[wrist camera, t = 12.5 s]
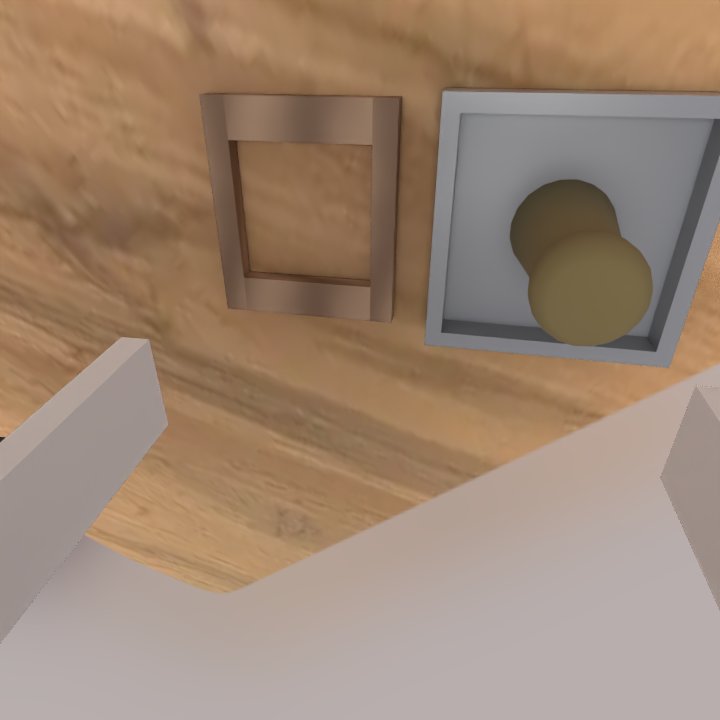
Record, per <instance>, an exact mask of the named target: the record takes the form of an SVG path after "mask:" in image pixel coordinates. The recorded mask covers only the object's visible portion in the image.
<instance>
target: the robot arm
mask: <svg viewBox="0 0 720 720" xmlns="http://www.w3.org/2000/svg"><path fill="white" fill-rule="evenodd" d="M167 426H168V421H167V417H166V412H165V408H164V403H163V399H162V395H161V390H160V386H159V382H158V377H157V373H156V369H155V364H154V360H153V355H152V351H151V347H150V342H149V339H138V338H126V337H121V338H120V339H119V340H117V341H116V342H115V343H114V344H113V345H112V346H111V347H109V348H108V349H107V350H106V351H105V352H104V353H103V354H101V355H100V356H99V357H98V358H97V359H96V360H94V361H93V362H92V363H91V364H90V365H89V366H88V367H86V368H85V369H84V370H83V371H82V372H81V373H79V374H78V375H77V376H76V377H75V378H74V379H73V380H71V381H70V382H69V383H68V384H67V385H66V386H65V387H63V388H62V389H61V390H60V391H59V392H58V393H56V394H55V395H54V396H53V397H52V398H51V399H50V400H48V401H47V402H46V403H45V404H44V405H43V406H42V407H40V408H39V409H38V410H37V411H36V412H35V413H33V414H32V415H31V416H30V417H29V418H28V419H27V420H25V421H24V422H23V423H22V424H21V425H20V426H19V427H17V428H16V429H15V430H14V431H13V432H12V433H10V434H9V435H8V436H7V437H6V438H5V437H0V643H1V642H2V641H3V640H4V638H5V637H6V636H7V634H8V633H9V632H10V630H11V629H12V628H13V626H14V625H15V624H16V623H17V621H18V620H19V619H20V617H21V616H22V615H23V613H24V612H25V611H26V610H27V608H28V607H29V606H30V604H31V603H32V602H33V600H34V599H35V598H36V597H37V595H38V594H39V593H40V591H41V590H42V589H43V587H44V586H45V585H46V584H47V582H48V581H49V580H50V578H51V577H52V576H53V574H54V573H55V572H56V570H57V569H58V568H59V566H60V565H61V564H62V563H63V561H64V560H65V559H66V557H67V556H68V555H69V554H70V552H71V551H72V550H73V548H74V547H75V546H76V544H77V543H78V542H79V540H80V539H81V538H82V537H83V535H84V534H85V533H86V531H87V530H88V529H89V527H90V526H91V525H92V524H93V522H94V521H95V520H96V518H97V517H98V516H99V514H100V513H101V512H102V510H103V509H104V508H105V507H106V505H107V504H108V503H109V501H110V500H111V499H112V497H113V496H114V495H115V494H116V492H117V491H118V490H119V488H120V487H121V486H122V484H123V483H124V482H125V481H126V479H127V478H128V477H129V475H130V474H131V473H132V471H133V470H134V469H135V467H136V466H137V465H138V464H139V462H140V461H141V460H142V458H143V457H144V456H145V454H146V453H147V452H148V451H149V449H150V448H151V447H152V445H153V444H154V443H155V441H156V440H157V439H158V437H159V436H160V435H161V434H162V432H163V431H164V430H165V428H166V427H167ZM661 480H662V482H663V485H664V487H665V489H666V491H667V493H668V496H669V498H670V500H671V502H672V505H673V507H674V509H675V511H676V514H677V516H678V518H679V520H680V523H681V525H682V527H683V529H684V531H685V534H686V536H687V538H688V540H689V542H690V545H691V547H692V549H693V552H694V554H695V556H696V558H697V560H698V563H699V565H700V567H701V569H702V572H703V574H704V576H705V578H706V581H707V583H708V585H709V587H710V589H711V591H712V594H713V596H714V598H715V601H716V603H717V605H718V607H719V610H720V387H708V386H695V388H694V391H693V394H692V396H691V399H690V401H689V404H688V407H687V409H686V412H685V415H684V417H683V420H682V422H681V425H680V428H679V430H678V433H677V435H676V438H675V441H674V443H673V446H672V448H671V451H670V454H669V456H668V459H667V462H666V464H665V467H664V470H663V472H662V475H661Z"/></svg>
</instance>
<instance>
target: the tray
mask: <svg viewBox="0 0 720 720" xmlns="http://www.w3.org/2000/svg"><path fill="white" fill-rule="evenodd" d="M568 179H578V180H581V181H584V182H587V183H591V184H594V185H595V186H596V187H598V188H599V189H600V190H601V191H603V192H604V193H605V194H606V195H607V196H608V198H609V200H610V201H611V203H612V205H613V206H614V208H615V212H616V217H617V221H618V225H619V229H620V233H621V237H622V238H625V239H626V240H627V241H629V242H630V243H631V244H632V245H634V246H635V247H636V248H638V249H639V250H640V252H641V253H642V254H643V256H644V258H645V259H646V261H647V263H648V265H649V266H650V268H651V274H652V281H653V294H652V298H651V302H650V306H649V308H648V310H647V312H646V313H645V315H644V316H643V318H642V320H641V321H640V323H638V324H637V325H636V326H635V327H634V328H633V329H632V330H631V331H629V332H628V333H627V334H626V335H624V336H622V337H620V338H618V339H616V340H614V341H612V342H610V343H606V344H601V345H596V346H592V347H589V346H573V345H570V344H567V343H564V342H561V341H558V340H556V339H555V338H553V337H552V336H551V335H549V334H548V333H547V332H545V331H544V330H543V329H542V328H541V327H540V325H539V324H538V322H537V321H536V319H535V318H534V317H533V315H532V312H531V308H530V304H529V300H528V285H529V276H528V275H527V273H526V271H525V270H524V268H523V267H522V265H521V264H520V262H519V261H518V259H517V258H516V256H515V255H514V253H513V250H512V246H511V242H510V229H511V222H512V220H513V217H514V215H515V213H516V210H517V208H518V207H519V206H520V204H521V203H522V202H523V201H524V200H525V199H526V197H527V196H528V195H529V194H531V193H532V192H534V191H535V190H537V189H538V188H540V187H541V186H543V185H545V184H548V183H551V182H554V181H557V180H568ZM719 221H720V92H709V91H643V90H577V89H512V88H445V89H444V90H443V95H442V109H441V123H440V137H439V151H438V165H437V179H436V193H435V207H434V221H433V235H432V249H431V263H430V277H429V291H428V305H427V319H426V333H425V345H432V346H443V347H454V348H464V349H475V350H485V351H496V352H507V353H517V354H528V355H539V356H549V357H560V358H570V359H581V360H592V361H602V362H613V363H623V364H634V365H645V366H655V367H666V368H669V367H670V364H671V361H672V358H673V355H674V352H675V349H676V346H677V343H678V341H679V338H680V335H681V332H682V329H683V326H684V323H685V320H686V317H687V314H688V311H689V308H690V305H691V303H692V300H693V297H694V294H695V291H696V288H697V285H698V282H699V279H700V276H701V273H702V270H703V267H704V264H705V262H706V259H707V256H708V253H709V250H710V247H711V244H712V241H713V238H714V235H715V232H716V229H717V226H718V224H719Z"/></svg>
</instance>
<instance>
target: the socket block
mask: <svg viewBox="0 0 720 720" xmlns="http://www.w3.org/2000/svg"><path fill="white" fill-rule="evenodd" d="M199 95H200V103H201V110H202V118H203V125H204V133H205V140H206V148H207V155H208V163H209V170H210V178H211V185H212V193H213V200H214V207H215V215H216V222H217V230H218V237H219V245H220V252H221V260H222V267H223V275H224V282H225V290H226V297H227V305H228V308H230V309H241V310H253V311H264V312H275V313H287V314H298V315H309V316H321V317H332V318H343V319H355V320H366V321H377V322H388V323H391V322H392V319H393V316H394V293H395V266H396V240H397V213H398V186H399V159H400V132H401V105H402V97H401V96H346V95H291V94H236V93H205V94H199ZM236 140H241V141H270V142H300V143H330V144H360V145H372V194H371V274H370V281H369V280H356V279H343V278H330V277H317V276H303V275H290V274H277V273H264V272H251V271H250V266H249V257H248V248H247V238H246V229H245V219H244V210H243V201H242V191H241V182H240V173H239V163H238V154H237V145H236Z"/></svg>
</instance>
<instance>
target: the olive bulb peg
mask: <svg viewBox="0 0 720 720" xmlns="http://www.w3.org/2000/svg"><path fill="white" fill-rule="evenodd" d="M510 242H511V246H512V250H513V253H514V255H515V256H516V258H517V259H518V261H519V262H520V264H521V265H522V267H523V268H524V270H525V271H526V273H527V275H528V276H529V285H528V300H529V304H530V308H531V312H532V315H533V317H534V318H535V319H536V321H537V322H538V324H539V325H540V327H541V328H542V329H543V330H544V331H545V332H547V333H548V334H549V335H551V336H552V337H553V338H555V339H556V340H558V341H561V342H564V343H567V344H570V345H573V346H589V347H592V346H596V345H601V344H606V343H610V342H612V341H614V340H616V339H618V338H620V337H622V336H624V335H626V334H627V333H628V332H629V331H631V330H632V329H633V328H634V327H635V326H636V325H637V324H638V323H640V321H641V320H642V318H643V316H644V315H645V313H646V312H647V310H648V308H649V306H650V302H651V298H652V294H653V281H652V274H651V268H650V266H649V265H648V263H647V261H646V259H645V258H644V256H643V254H642V253H641V252H640V250H639V249H638V248H636V247H635V246H634V245H632V244H631V243H630V242H629V241H627V240H626V239H625V238H622V237H621V233H620V229H619V225H618V221H617V217H616V212H615V208H614V206H613V205H612V203H611V201H610V200H609V198H608V196H607V195H606V194H605V193H604V192H603V191H601V190H600V189H599V188H598V187H596V186H595V185H594V184H591V183H587V182H584V181H581V180H578V179H568V180H557V181H554V182H551V183H548V184H545V185H543V186H541V187H540V188H538V189H537V190H535V191H534V192H532V193H531V194H529V195H528V196H527V197H526V199H525V200H524V201H523V202H522V203H521V204H520V206H519V207H518V208H517V210H516V213H515V215H514V217H513V220H512V222H511V229H510Z"/></svg>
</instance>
